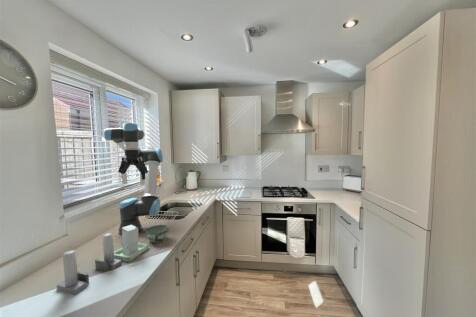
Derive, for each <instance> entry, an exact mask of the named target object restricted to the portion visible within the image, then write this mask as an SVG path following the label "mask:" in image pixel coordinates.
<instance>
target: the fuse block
mask: <svg viewBox="0 0 476 317" xmlns="http://www.w3.org/2000/svg"><path fill="white" fill-rule="evenodd" d="M102 246H103V248H102V250H103V258H101V259H99V258H96V259H95V260H94V263H95V265H94V267H95V269H97V270H101V271H105V272H108V271H110V270H114V269H116V268H117V267H119V266H120V265H122V262H123V261H122V260H119V259H114V252H115V251H114V236H113V233H112V232H108V233H105V234H103V235H102ZM77 260H78V259H77V250H75V249H73V250H72V249H71V250H68V251H65V252H63V253H62V261H63V262H62V264H63V273H64V274H63V276H64V277H63V278H64V280H63V281H61V282H59V283H57V284H56V290H58V291H61V292H65V293H68V294H72V295H76V294H77V293H79V292H81V291H83V290H84V289H86V288H87V287H88V285H89V284H90V278H89V273H87V272H83V271H79V270H78V264H77V263H78V262H77Z"/></svg>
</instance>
